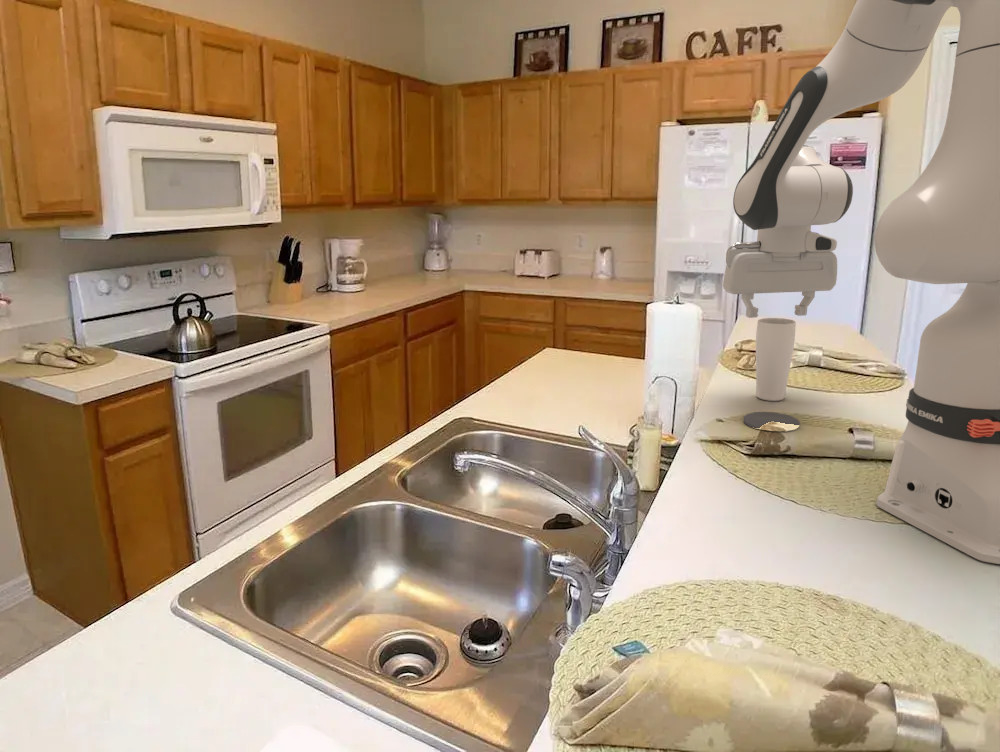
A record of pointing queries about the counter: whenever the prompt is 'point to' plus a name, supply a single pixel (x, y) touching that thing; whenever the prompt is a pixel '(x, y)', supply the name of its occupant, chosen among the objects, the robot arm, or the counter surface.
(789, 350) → the drinking glass
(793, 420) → the coaster
